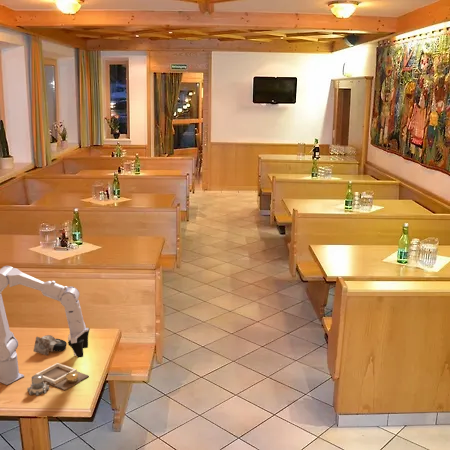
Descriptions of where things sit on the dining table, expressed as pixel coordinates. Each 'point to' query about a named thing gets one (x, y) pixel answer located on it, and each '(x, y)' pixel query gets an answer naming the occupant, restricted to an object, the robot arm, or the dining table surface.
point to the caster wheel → (49, 344)
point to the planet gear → (38, 385)
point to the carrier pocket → (53, 368)
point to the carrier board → (63, 384)
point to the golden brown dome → (72, 377)
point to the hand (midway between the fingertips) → (82, 352)
